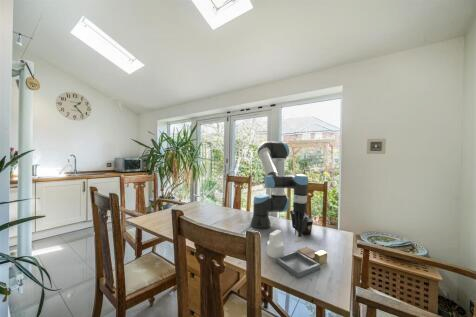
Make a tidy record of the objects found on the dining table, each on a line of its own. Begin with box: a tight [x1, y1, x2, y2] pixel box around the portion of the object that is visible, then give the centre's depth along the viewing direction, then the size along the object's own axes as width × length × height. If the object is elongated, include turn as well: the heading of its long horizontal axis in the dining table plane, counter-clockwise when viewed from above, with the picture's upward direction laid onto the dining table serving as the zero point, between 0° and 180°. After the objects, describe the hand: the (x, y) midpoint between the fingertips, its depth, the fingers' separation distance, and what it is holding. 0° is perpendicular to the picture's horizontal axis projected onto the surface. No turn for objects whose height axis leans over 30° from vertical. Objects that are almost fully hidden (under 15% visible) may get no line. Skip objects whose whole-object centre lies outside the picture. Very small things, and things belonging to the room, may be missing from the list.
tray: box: [274, 250, 321, 279], centre depth 101 cm, size 15×15×3 cm
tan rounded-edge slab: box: [296, 246, 317, 260], centre depth 111 cm, size 10×8×2 cm
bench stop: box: [314, 249, 328, 266], centre depth 105 cm, size 3×6×5 cm, turn 121°
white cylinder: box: [266, 229, 285, 259], centre depth 112 cm, size 9×9×12 cm
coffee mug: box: [302, 217, 314, 236], centre depth 142 cm, size 12×9×10 cm
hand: (298, 241), depth 118 cm, fingers closed
